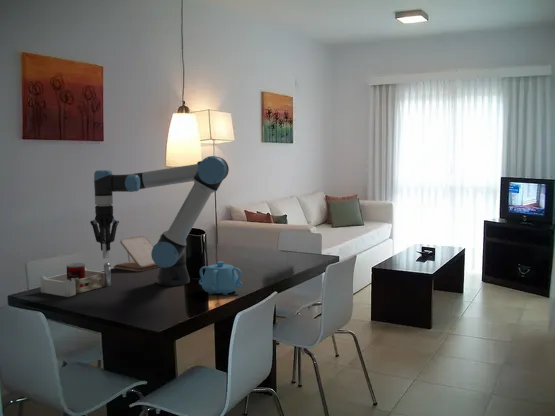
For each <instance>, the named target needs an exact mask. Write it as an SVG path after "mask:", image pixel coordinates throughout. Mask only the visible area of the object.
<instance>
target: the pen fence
mask: <svg viewBox="0 0 555 416" xmlns="http://www.w3.org/2000/svg"><path fill="white" fill-rule="evenodd" d="M99 274H103V281H104V271H101V270H100V271H99V270H93V269H92V270H91V269H87V267H86V266H85V278H86V277H91V276H95V275H99ZM96 283H99V280H96V281H92V282H91V285H92V284H96ZM40 293H41V294H50V295H54V296H60V297H65V298H70V297H73V296H75V295H76V294H77V293H76V286H75V281H70V280H67V272H66V273H61V274H58V275H53V276H48V277H46V275H42V276H41V275H40Z"/></svg>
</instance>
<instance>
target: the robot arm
mask: <svg viewBox="0 0 555 416" xmlns="http://www.w3.org/2000/svg"><path fill="white" fill-rule="evenodd" d="M229 170H230V169H229V164H228V163H227V160H225V159H224V157H223V158H222V157H221V156H216V155H210V156H206V157H205V158H203V159H202V160H200V161H197V163H195V164H188V165H181V166H175V167H169V168H162V169H156V170H149V171H143V172H137V173H129V174H128V173H127V174H113V172H112V170H110V169H109V170H107V169H101V170H95V171H94V173H93V174H94V176H93V179H94V180H93V187H94V205H95V206H94V208H95V209H94V212H95V216H94V219H93V220H90V222H89V223H90V225H91V227H92V231H93V234H94V237H95V242H97V243H100V251H102V259H109V258H110V253H109V251H111V243H113V242H115V239H116V233H117V228H118V225H119V223H120V221H119V220H116V219H115V217H114V206H113V204H114V202H113V201H114V200H113V199H114V197H113V192H114V193H115V192H116V193H117V192H122V193H123V192H125V193H127V192H129V193H134V192H138V191H139V190H143V189H150V188H156V187H163V186H169V185H177V184H183V183H188V182H194V184H193V185H192V187H191V189H190V191H189V192H188V194H187V196H186V198H185V200H184V202H183V203H182V205H181V207H180V209H179V210H178V212H177V214H176V215H175V217H174V219H173V221H172V222H171V225H170V226H169V228H168V229H167V230H165V231H163V232H162V234H160V235H159V236H160V237H159V239H158V241H157V243H155V245H153V246H154V247H153V249H152V252H151V256H152V259H153V261H154V263H155V264H157V265H158V266H160V267H159V270H158V271H159V272H158V275H157V278H156V281H157V282H156V284H158V285H159V286H165V287H166V286H167V287H175V286H176V287H177V286H184V285H186V284H189V283H191V282H190V281H191V280H190V275H189V272H188V269H187V265H186V264H187V263H186V262H187V260H186V258H187V257H186V255H187V253H186V246H187V240H186V239H187V238H188V236H189V234H190V232H191V231H192V229H193V227H194V225H195V224H196V221H197V220H198V218H199V216H200V215H201V213H202V211H203V209H204V208H205V206H206V204H207V202H208V200H209V198H210V197H211V195H212V194H214V193H215V192H217V191H218V190H219V188H220V186H221V184H222V182H223V181H224V180H225V179H226V178H227V176H228V175H229Z"/></svg>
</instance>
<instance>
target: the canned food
mask: <svg viewBox="0 0 555 416" xmlns="http://www.w3.org/2000/svg"><path fill="white" fill-rule="evenodd" d="M85 267H86V266H85V263H84V262H72V263H68V264H66V273H67V280H70V281H71V278H75V277H77V278H79V279H82V278H85ZM84 286H86V283H83V284H80V287H84Z"/></svg>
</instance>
